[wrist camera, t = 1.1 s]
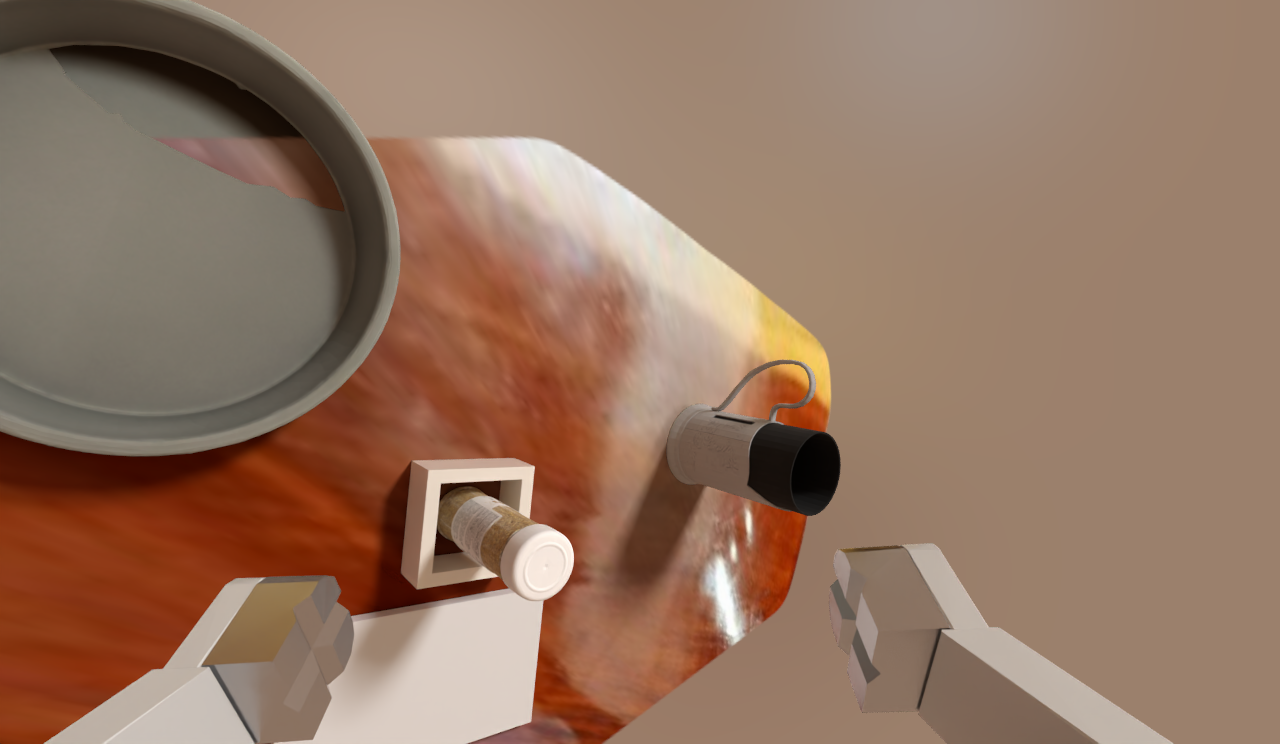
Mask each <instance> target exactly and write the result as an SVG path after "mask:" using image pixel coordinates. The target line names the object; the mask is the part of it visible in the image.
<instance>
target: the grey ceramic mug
mask: <svg viewBox="0 0 1280 744" xmlns="http://www.w3.org/2000/svg"><path fill="white" fill-rule="evenodd" d="M780 364H795V365H800V366H801V367H802V368H804V369H805V370H806V372H807V374H808V378H809V390H808V393H807V395H806V396H805V397H804V399H803V400H801V401H800V402H798V403H795V404H777V405H774V406H773V407H772V409H771V411H770V415H769V420H765V419H759V418H754V417H748V416H743V415H737V414H731V413H726V412H720V411H721V410H724V409H725V408H726V407H727V406H728V405H729V404H730V403H731V401H732V400H733V399H734V398H735V397H736V395H737V394H738V393H739V391H740V390H741V389H742V388H743V387H744V386H745V385H746V383H747V382H748V381H749V380H750V379H751V378H753V377H754V376H755V375H756V374H758V373H759V372H761V371H763V370H765V369H767V368H769V367H771V366H775V365H780ZM815 389H816V381H815V376H814V373H813V371H812V370H811V368H810V367H809V366H807V365H806V364H805V363H803V362H799V361H795V360H777V361H773V362H768V363H766V364H764V365H761V366H759V367H757V368H755V369H754V370H752V371H750V372H749V373H748V374H747V375H746V376H745V377H744V378H743V379H742V381H741V382H740V383H739V384H738V385H737V386H736V387H735V388H734V390H733V391H732V392H731V394H730V395H729V396H728V397H727V398H726V400H725V401H724V402H723V403H722V404H721V405H720V406H719V407H718V408H717V407H711V406H708V405H706V404H695V405H692V406H690V407H688V408H686V409H685V410H684V411H683V412H681V413H680V415H679V416H678V417H677V418H676V420H675V421H674V423H673V425H672V427H671V429H670V432H669V436H668V440H667V450H666V453H667V461H668V465H669V468H670V470H671V472H672V473H673V475H674V476H675V477H676V478H677V479H678V480H679V481H680V482H682V483H684V484H688V485H695V484H702V485H705V486H708V487H712V488H715V489H718V490H721V491H724V492H727V493H731V494H734V495H737V496H740V497H743V498H746V499H750V500H753V501H756V502H759V503H762V504H765V505H768V506H772V507H775V508H778V509H781V510H785V511H794V512H797V513H800V514H804V515H807V516H812V515H816V514H818V513H820V512H821V511H822V510H823V509H824V508H825V507H826V506H827V505H828V504H829V502H830V501H831V499H832V497H833V495H834V493H835V491H836V488H837V485H838V480H839V475H840V454H839V450H838V446H837V444H836V442H835V440H834V439H833V437H831V436H830V435H829V434H827V433H825V432H820V431H815V430H809V429H804V428H798V427H793V426H787V425H784V424H782V423H780V422H776V421H775V419H776V413H777V410H778V409H779V408H799V407H802V406H804V405H805V404H807V403H808V402H809V401H810V400H811V399H812V397H813V395H814V393H815Z"/></svg>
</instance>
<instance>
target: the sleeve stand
mask: <svg viewBox="0 0 1280 744" xmlns="http://www.w3.org/2000/svg"><path fill="white" fill-rule="evenodd" d="M534 468H535V466H533V465H530V464H528V463H525V462H523V461H520V460H518V459H515V458H495V459H456V460H417V461H412V462H411V472H410V483H409V493H408V503H407V514H406V524H405V534H404V545H403V555H402V565H401V574H402V575H403V576H404V577H405V578H406V579H407V580H408V581H409V582H410V583H411V584H412V585H413V586H414V587H415V588H416V589H423V588H430V587H436V586H442V585H448V584H455V583H461V582H467V581H473V580H480V579H486V578H492V577H498V576H497V575H496V574H494V573H492V572H490V571H489V570H487V569H486V568H485V567H484V566H482V565H481V564H480V563H478V562H477V561H476V560H474V559H473V558H472V557H471V556H469V555H468V554H467V553H465V552H461V553H453V554H445V555H437V556H434V549H435V538H436V528H437V518H438V508H439V498H440V487H441V483H459V482H479V481H499V480H501V486H500V496H499V501H500V502H502V503H504V504H505V505H507V506H509V507H511V508H513V509H514V510H516V511H518V512H520V513H521V514H522V515H524V516H525V517H527V518H530V508H531V498H532V488H533V478H534Z"/></svg>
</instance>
